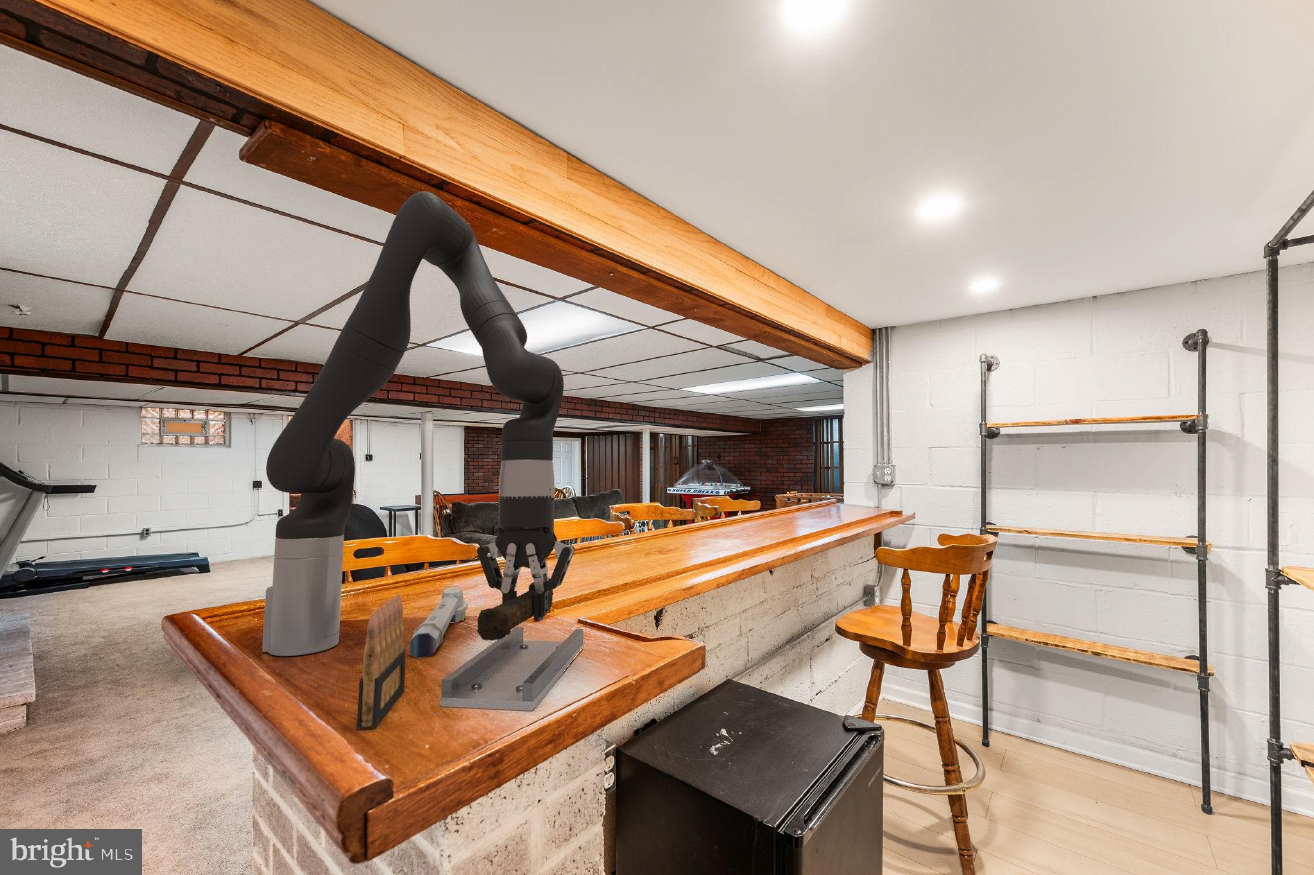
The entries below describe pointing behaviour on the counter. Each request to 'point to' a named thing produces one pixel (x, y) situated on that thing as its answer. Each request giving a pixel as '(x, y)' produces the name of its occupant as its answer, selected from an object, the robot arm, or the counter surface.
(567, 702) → the counter surface
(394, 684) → the ammunition clip
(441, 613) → the grey plastic handle
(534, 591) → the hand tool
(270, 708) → the counter surface
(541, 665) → the grey channel tray
